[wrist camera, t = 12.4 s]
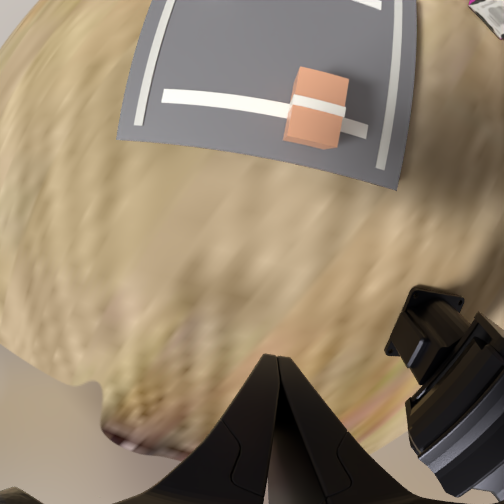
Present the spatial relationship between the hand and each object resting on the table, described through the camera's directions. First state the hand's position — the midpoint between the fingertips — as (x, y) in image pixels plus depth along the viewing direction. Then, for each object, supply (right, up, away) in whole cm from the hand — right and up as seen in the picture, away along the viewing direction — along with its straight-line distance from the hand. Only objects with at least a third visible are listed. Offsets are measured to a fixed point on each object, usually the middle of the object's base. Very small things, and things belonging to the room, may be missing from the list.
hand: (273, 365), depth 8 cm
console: (+1, +17, +7) cm, 18 cm away
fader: (+3, +11, +6) cm, 13 cm away
